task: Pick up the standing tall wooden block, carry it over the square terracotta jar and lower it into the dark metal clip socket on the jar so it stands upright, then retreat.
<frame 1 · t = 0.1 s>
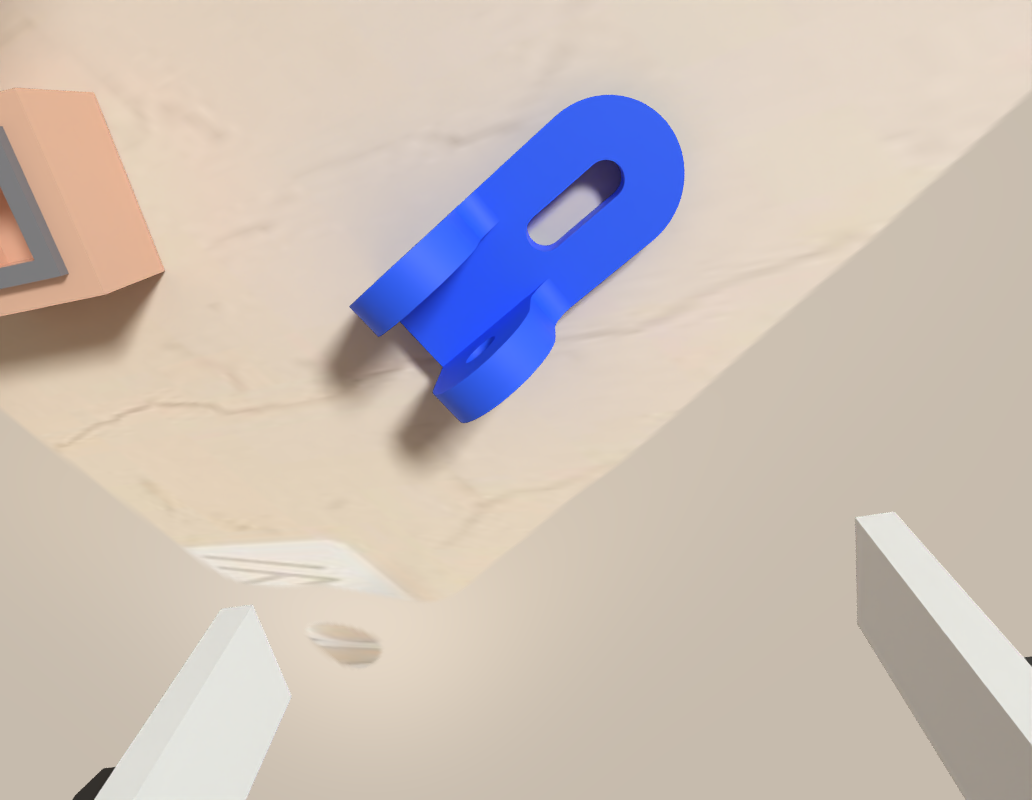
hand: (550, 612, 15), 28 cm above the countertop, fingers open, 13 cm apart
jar: (52, 203, 40), on the countertop
bracket: (536, 234, 40), on the countertop
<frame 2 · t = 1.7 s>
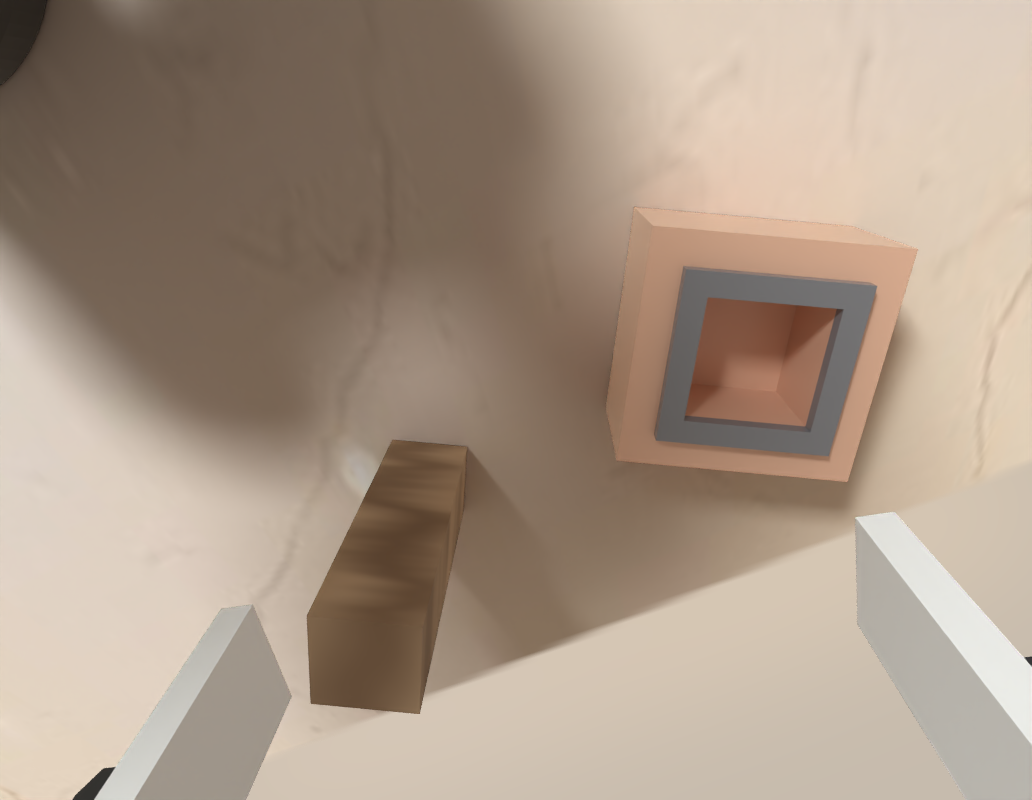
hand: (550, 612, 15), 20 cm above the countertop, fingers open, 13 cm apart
tall wooden block: (428, 476, 37), on the countertop
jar: (721, 321, 33), on the countertop
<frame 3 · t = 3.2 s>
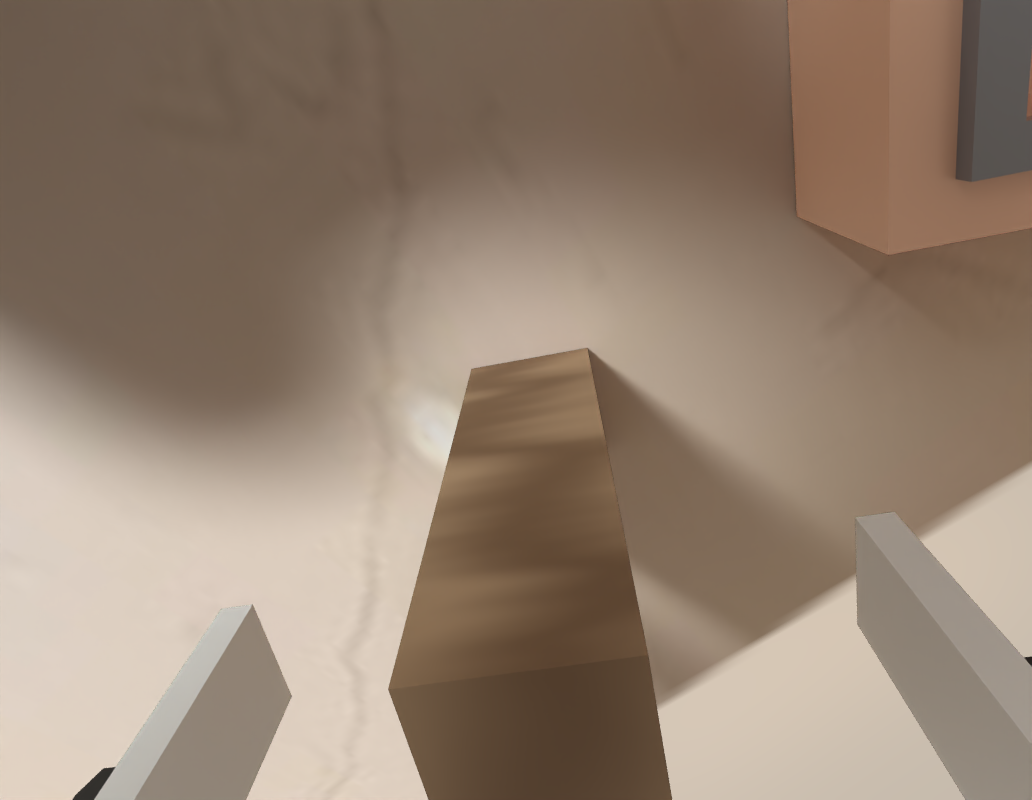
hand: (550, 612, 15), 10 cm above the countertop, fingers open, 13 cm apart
tall wooden block: (540, 411, 24), on the countertop
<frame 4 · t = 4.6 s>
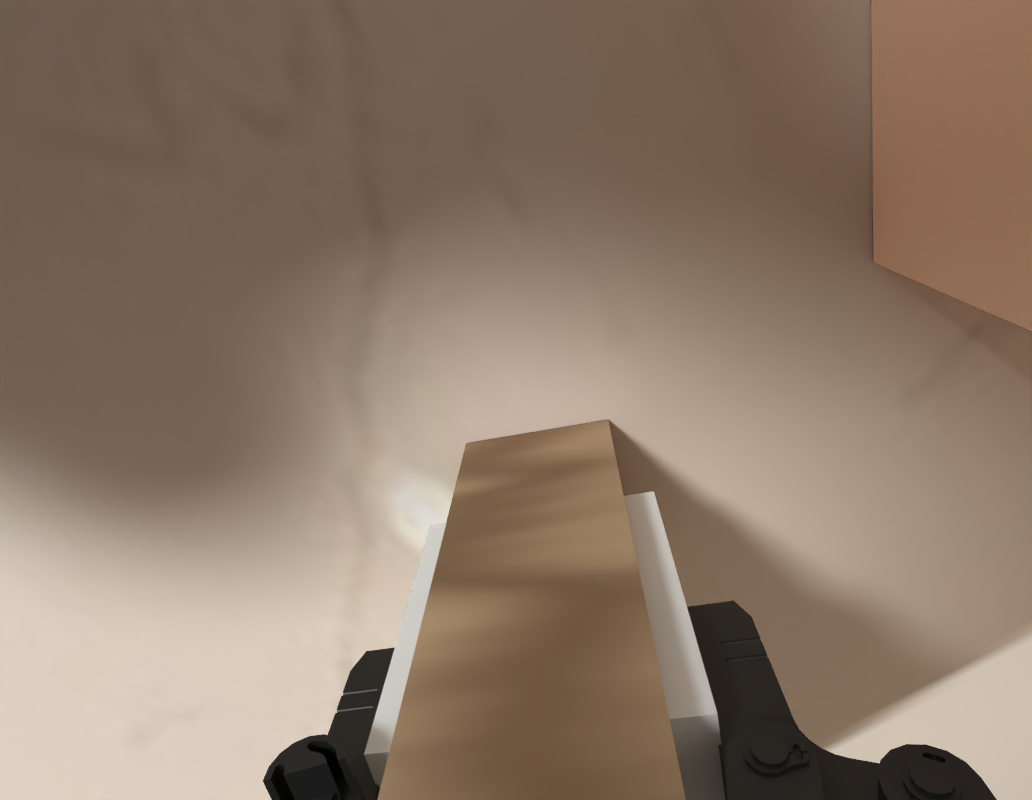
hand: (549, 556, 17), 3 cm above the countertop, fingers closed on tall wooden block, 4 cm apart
tall wooden block: (549, 493, 20), on the countertop, touching gripper
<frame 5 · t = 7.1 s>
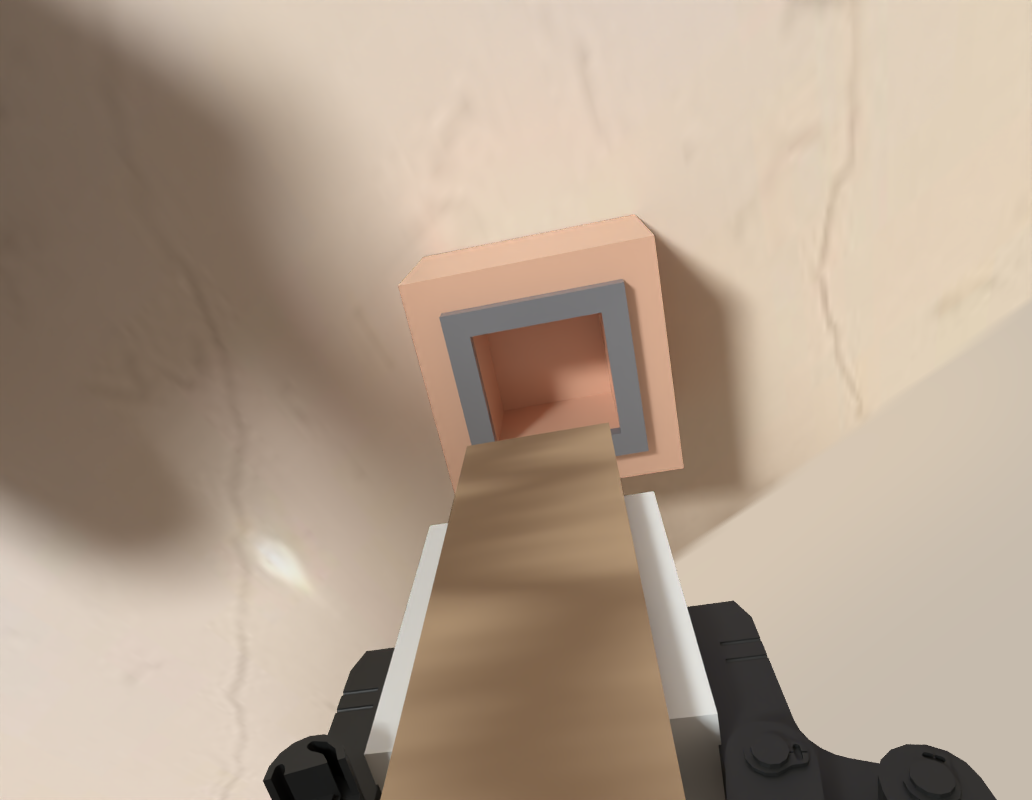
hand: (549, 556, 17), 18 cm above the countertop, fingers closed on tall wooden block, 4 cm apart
tall wooden block: (550, 496, 20), point 15 cm above the countertop, touching gripper
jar: (547, 337, 33), on the countertop
when the fingers open (8 cm above the countertop, at t = 9.6 s): tall wooden block drops 3 cm, resting on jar.
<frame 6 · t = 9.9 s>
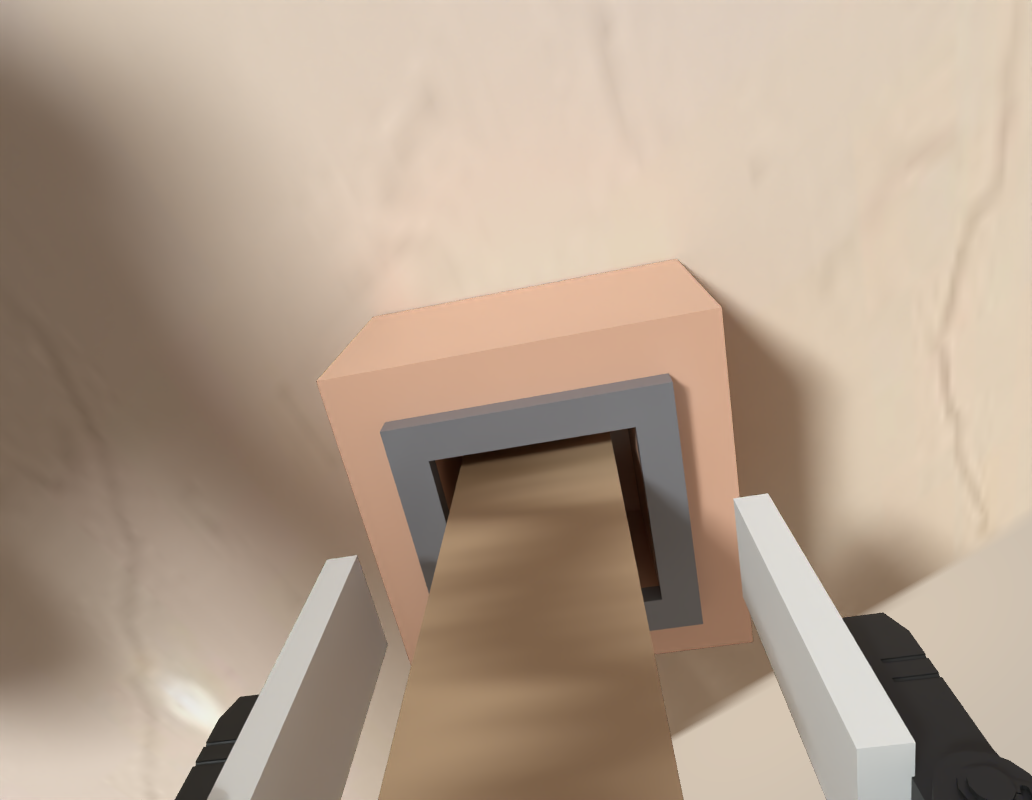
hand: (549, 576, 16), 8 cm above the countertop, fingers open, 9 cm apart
tall wooden block: (548, 455, 22), point 2 cm above the countertop, touching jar
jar: (548, 427, 24), on the countertop
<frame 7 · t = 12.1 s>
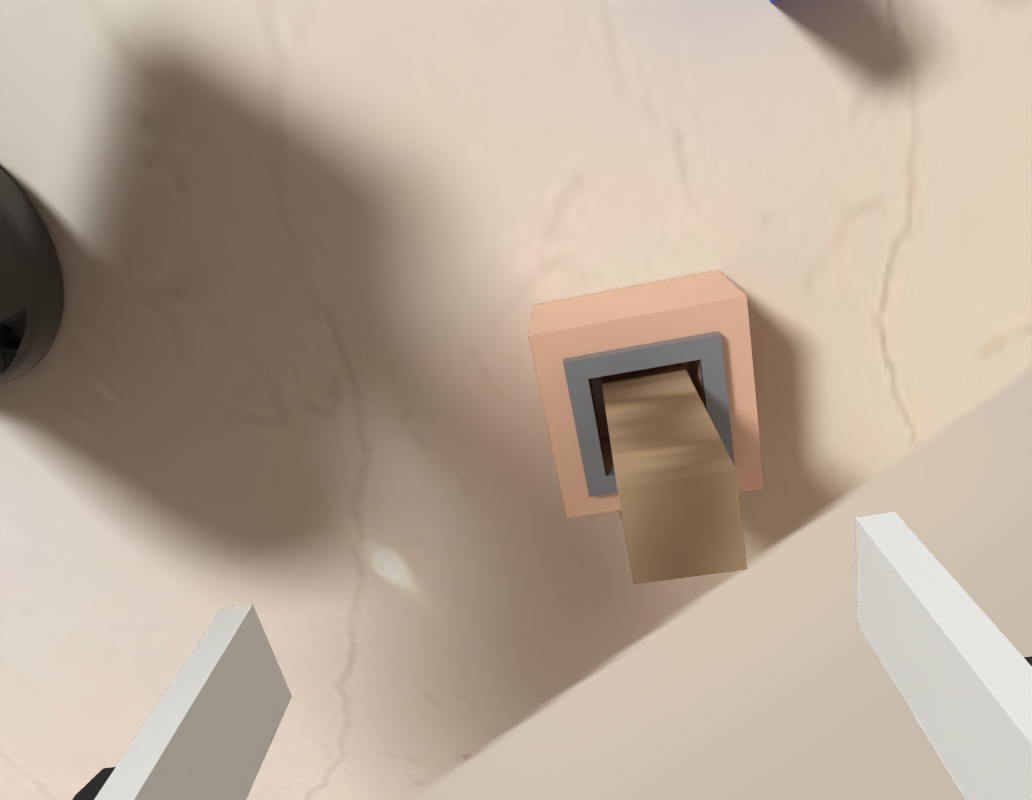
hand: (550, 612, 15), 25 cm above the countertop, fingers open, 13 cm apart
tall wooden block: (641, 387, 37), point 2 cm above the countertop, touching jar
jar: (637, 374, 39), on the countertop
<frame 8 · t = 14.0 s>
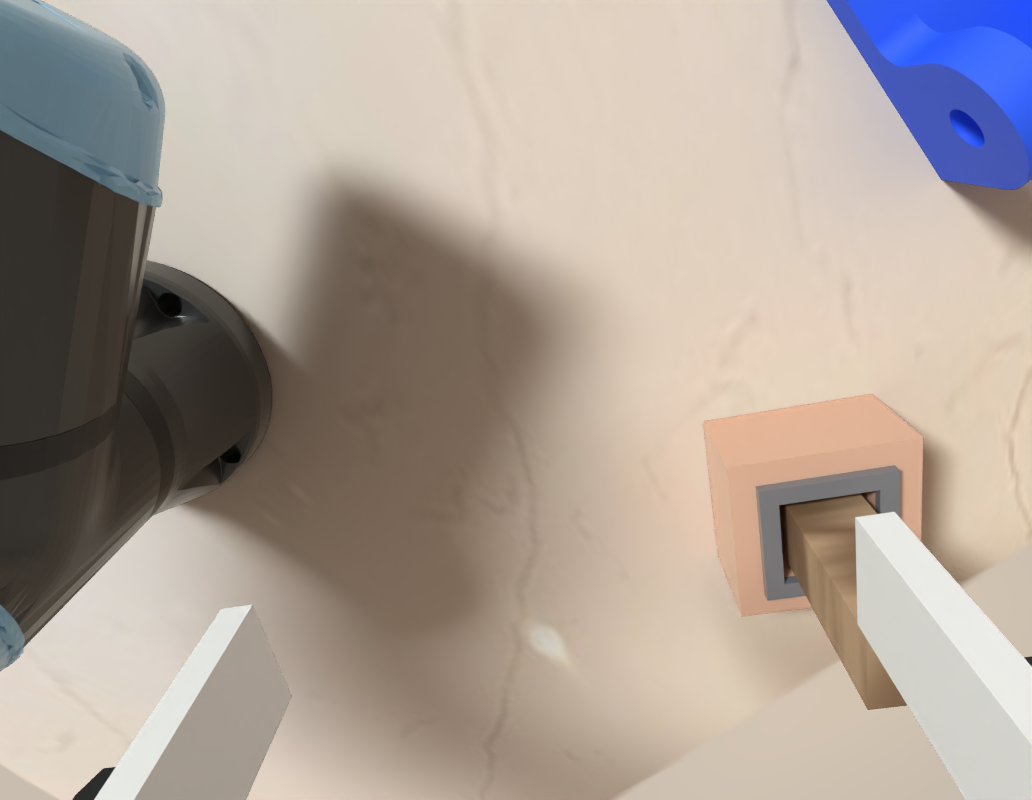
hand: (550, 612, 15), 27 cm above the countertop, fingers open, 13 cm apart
tall wooden block: (801, 496, 41), point 2 cm above the countertop, touching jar
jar: (790, 479, 43), on the countertop
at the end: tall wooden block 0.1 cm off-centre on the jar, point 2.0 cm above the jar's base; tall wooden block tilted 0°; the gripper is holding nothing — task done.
